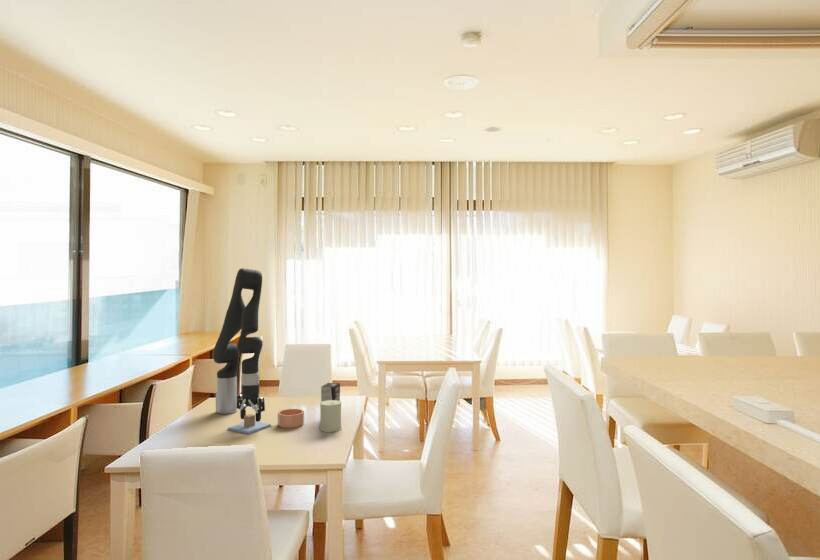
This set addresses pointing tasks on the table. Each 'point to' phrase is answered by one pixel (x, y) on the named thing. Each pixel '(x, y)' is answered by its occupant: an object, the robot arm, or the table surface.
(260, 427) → the lid
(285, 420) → the bowl
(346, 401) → the table surface
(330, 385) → the coffee box
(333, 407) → the can
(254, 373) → the robot arm
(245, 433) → the mat
